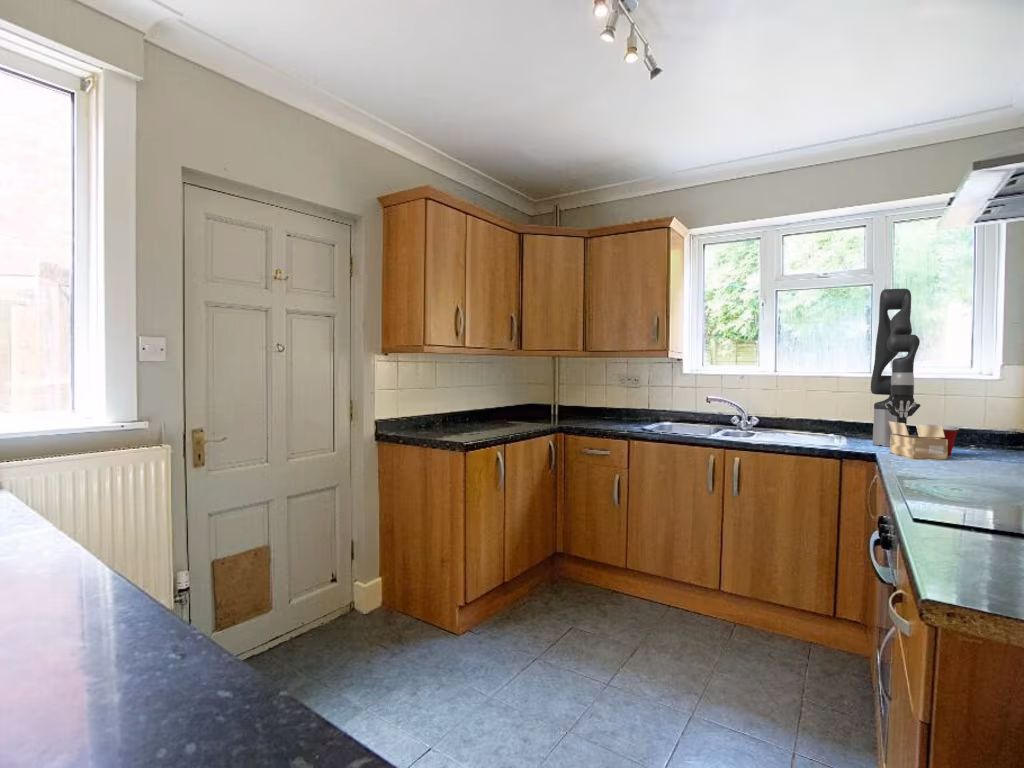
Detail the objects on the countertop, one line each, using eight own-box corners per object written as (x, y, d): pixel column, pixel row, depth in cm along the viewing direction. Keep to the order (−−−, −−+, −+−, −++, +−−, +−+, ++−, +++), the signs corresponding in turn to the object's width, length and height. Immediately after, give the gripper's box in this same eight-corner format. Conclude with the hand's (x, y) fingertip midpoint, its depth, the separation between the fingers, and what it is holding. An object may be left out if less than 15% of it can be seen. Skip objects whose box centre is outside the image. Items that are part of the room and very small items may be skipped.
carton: (889, 453, 222) (890, 434, 221) (921, 454, 220) (921, 435, 220) (913, 459, 206) (913, 438, 206) (947, 460, 204) (948, 439, 204)
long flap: (893, 432, 219) (892, 433, 220) (889, 421, 220) (888, 421, 220) (909, 435, 209) (908, 435, 209) (905, 423, 209) (904, 423, 209)
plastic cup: (928, 455, 218) (929, 426, 218) (922, 452, 228) (923, 424, 228) (962, 457, 213) (963, 427, 213) (954, 454, 223) (955, 425, 223)
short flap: (918, 436, 206) (919, 436, 205) (915, 424, 208) (916, 424, 207) (944, 437, 204) (944, 437, 204) (941, 425, 206) (941, 425, 206)
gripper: (914, 384, 217) (913, 426, 217) (879, 383, 218) (878, 425, 218) (926, 384, 209) (925, 427, 209) (890, 383, 211) (889, 427, 211)
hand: (901, 426), depth 214 cm, fingers closed
